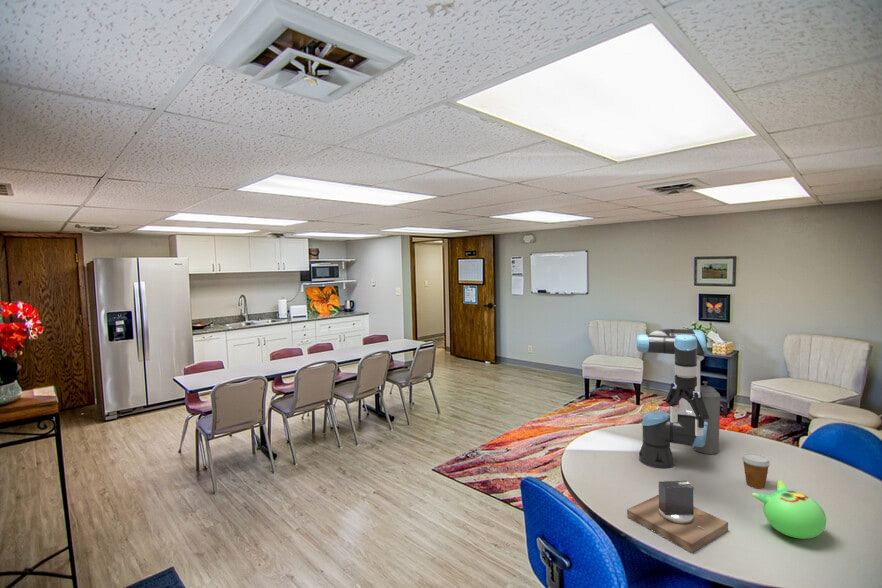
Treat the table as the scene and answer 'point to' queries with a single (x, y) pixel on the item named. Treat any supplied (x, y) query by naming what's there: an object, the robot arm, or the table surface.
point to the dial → (676, 501)
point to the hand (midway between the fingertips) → (686, 428)
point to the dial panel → (679, 525)
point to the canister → (711, 419)
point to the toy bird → (793, 512)
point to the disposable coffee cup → (755, 470)
